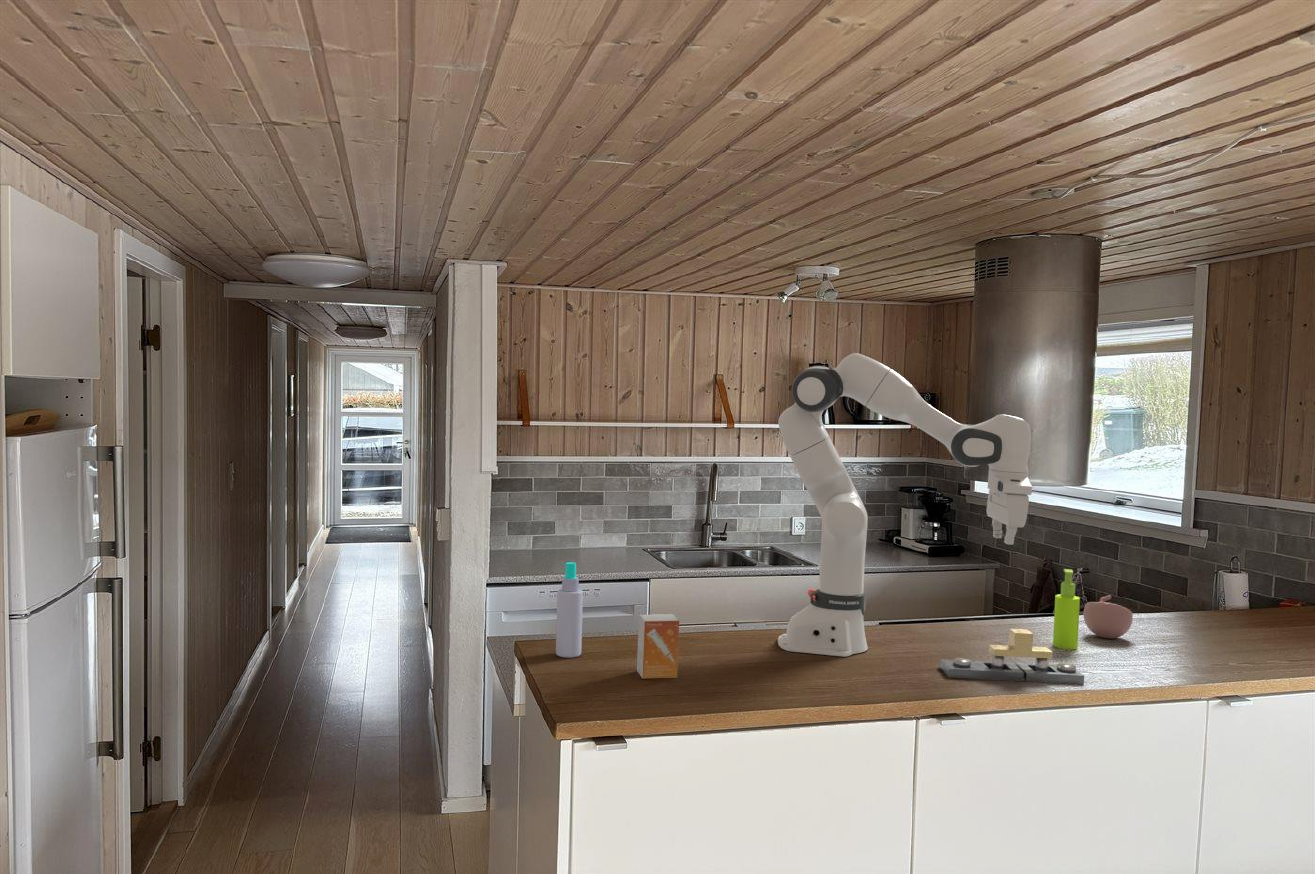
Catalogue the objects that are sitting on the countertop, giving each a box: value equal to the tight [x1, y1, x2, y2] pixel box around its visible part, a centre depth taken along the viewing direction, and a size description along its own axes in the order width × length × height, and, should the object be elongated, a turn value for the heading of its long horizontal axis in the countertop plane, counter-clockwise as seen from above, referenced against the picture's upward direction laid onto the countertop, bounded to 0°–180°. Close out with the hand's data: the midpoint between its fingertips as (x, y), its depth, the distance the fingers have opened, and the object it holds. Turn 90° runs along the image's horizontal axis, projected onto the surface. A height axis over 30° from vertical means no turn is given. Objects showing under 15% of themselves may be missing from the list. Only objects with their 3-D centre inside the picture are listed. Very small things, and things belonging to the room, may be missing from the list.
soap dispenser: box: [1052, 568, 1081, 650], centre depth 241 cm, size 6×7×20 cm
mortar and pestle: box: [1083, 594, 1134, 640], centre depth 251 cm, size 12×12×12 cm
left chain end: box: [939, 657, 1025, 682], centre depth 214 cm, size 17×8×3 cm, turn 86°
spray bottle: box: [555, 561, 584, 659], centre depth 219 cm, size 6×6×22 cm
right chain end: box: [1014, 662, 1085, 685], centre depth 213 cm, size 13×8×3 cm, turn 86°
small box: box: [636, 613, 680, 680], centre depth 206 cm, size 8×6×13 cm
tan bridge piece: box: [988, 628, 1053, 672], centre depth 213 cm, size 13×4×10 cm, turn 86°
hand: (1003, 540), depth 220 cm, fingers open, 8 cm apart
